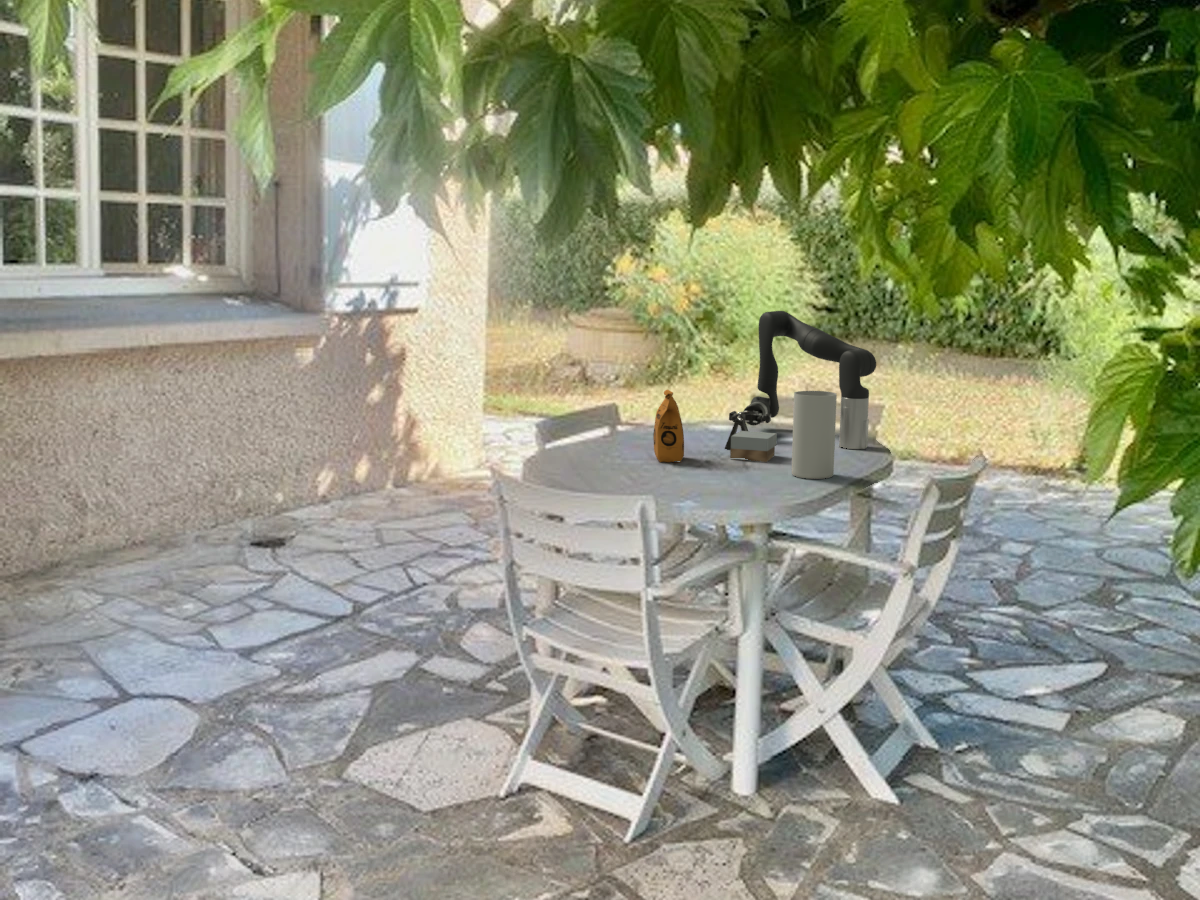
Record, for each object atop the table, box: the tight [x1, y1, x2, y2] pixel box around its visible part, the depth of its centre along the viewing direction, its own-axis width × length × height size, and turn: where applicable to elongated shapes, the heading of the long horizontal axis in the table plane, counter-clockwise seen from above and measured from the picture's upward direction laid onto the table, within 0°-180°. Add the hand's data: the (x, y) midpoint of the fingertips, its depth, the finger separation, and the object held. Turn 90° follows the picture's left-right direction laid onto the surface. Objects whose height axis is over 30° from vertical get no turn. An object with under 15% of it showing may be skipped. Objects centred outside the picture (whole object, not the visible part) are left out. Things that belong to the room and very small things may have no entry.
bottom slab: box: [729, 446, 776, 463], centre depth 408 cm, size 12×12×4 cm
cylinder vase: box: [791, 390, 838, 480], centre depth 376 cm, size 12×12×25 cm
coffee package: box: [652, 389, 685, 463], centre depth 402 cm, size 10×12×22 cm
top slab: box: [731, 430, 778, 451], centre depth 407 cm, size 12×12×4 cm
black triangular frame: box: [724, 411, 749, 451], centre depth 423 cm, size 9×6×12 cm, turn 75°
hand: (745, 420), depth 434 cm, fingers open, 8 cm apart
